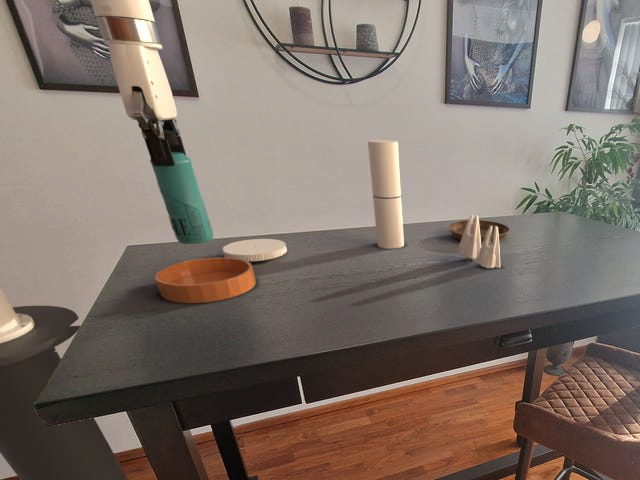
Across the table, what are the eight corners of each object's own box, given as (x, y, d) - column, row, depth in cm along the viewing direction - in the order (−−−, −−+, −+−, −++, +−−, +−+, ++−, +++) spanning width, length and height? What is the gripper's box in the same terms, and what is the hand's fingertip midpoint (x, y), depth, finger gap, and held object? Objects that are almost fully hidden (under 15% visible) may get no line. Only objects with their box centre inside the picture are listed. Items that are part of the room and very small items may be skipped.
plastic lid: (295, 249, 114) (293, 239, 113) (275, 266, 103) (273, 255, 101) (240, 248, 114) (237, 238, 112) (214, 265, 102) (211, 254, 101)
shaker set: (456, 258, 112) (456, 213, 106) (468, 255, 114) (468, 210, 108) (489, 270, 105) (491, 222, 99) (501, 267, 107) (504, 220, 101)
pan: (147, 306, 82) (140, 288, 80) (176, 275, 96) (170, 259, 94) (248, 299, 86) (243, 282, 84) (261, 271, 100) (257, 255, 98)
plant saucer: (516, 245, 124) (517, 234, 123) (454, 247, 121) (454, 235, 119) (500, 229, 139) (501, 219, 137) (444, 230, 135) (444, 220, 133)
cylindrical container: (381, 249, 117) (371, 142, 103) (374, 242, 122) (364, 139, 108) (407, 247, 119) (401, 142, 106) (400, 240, 125) (393, 139, 111)
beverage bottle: (221, 242, 90) (189, 129, 79) (210, 252, 84) (174, 132, 73) (186, 243, 89) (149, 128, 78) (173, 252, 83) (131, 131, 72)
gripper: (125, 39, 75) (163, 157, 84) (75, 27, 61) (127, 170, 70) (175, 42, 76) (207, 157, 86) (137, 30, 62) (180, 170, 72)
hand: (171, 162), depth 78 cm, fingers closed on beverage bottle, 6 cm apart
